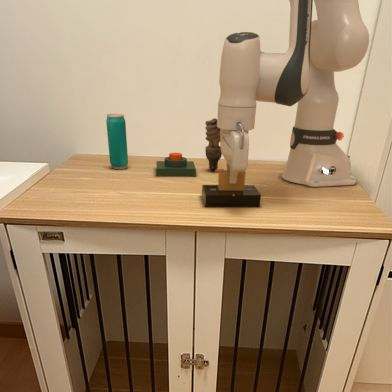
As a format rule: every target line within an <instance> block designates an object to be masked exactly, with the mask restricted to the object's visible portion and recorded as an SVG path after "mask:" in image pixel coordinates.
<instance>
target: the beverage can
mask: <svg viewBox="0 0 392 392" xmlns="http://www.w3.org/2000/svg"><path fill="white" fill-rule="evenodd" d="M105 123H106V132H107V133H106V134H107V135H106V136H107V144H108V154H109V155H108V156H109V164H110V166H111V168H112V169H113V170H118V171H119V170H120V171H121V170H126V169H127V168H128V164H129V153H128V140H127V139H128V138H127V126H126V118H125V115H124V114H122V113H109V114H106V120H105Z"/></svg>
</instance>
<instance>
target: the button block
mask: <svg viewBox="0 0 392 392" xmlns="http://www.w3.org/2000/svg"><path fill="white" fill-rule="evenodd" d="M155 162H156V176H157V177H197V168H196V165H195V162H194V161H192V160H191V161H188V159H187V157H184V156H182V160H169V156H166V157H164V160H156V161H155Z"/></svg>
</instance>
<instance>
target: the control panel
mask: <svg viewBox="0 0 392 392" xmlns="http://www.w3.org/2000/svg"><path fill="white" fill-rule="evenodd" d="M256 187H257V186H255V184H244V191H219V190H218V184H202V185H201V198H202V201H203V205H204V207H205V208H261V199H262V194H261V193H260V192H259V190H258V189H257V188H256Z"/></svg>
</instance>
